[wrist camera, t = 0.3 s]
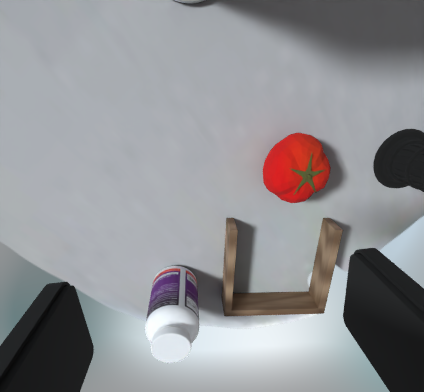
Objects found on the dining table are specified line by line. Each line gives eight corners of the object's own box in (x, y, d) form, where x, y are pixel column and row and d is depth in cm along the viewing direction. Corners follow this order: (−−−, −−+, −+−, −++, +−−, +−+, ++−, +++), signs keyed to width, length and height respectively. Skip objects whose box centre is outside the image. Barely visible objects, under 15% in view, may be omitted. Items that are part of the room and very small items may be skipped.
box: (226, 218, 47) (230, 230, 43) (329, 218, 49) (342, 230, 45) (221, 298, 53) (224, 316, 49) (313, 296, 55) (323, 313, 51)
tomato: (255, 192, 46) (269, 212, 38) (260, 129, 42) (276, 138, 35) (310, 191, 47) (334, 211, 39) (318, 129, 43) (347, 137, 35)
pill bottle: (148, 292, 52) (133, 363, 38) (161, 257, 49) (150, 320, 36) (189, 303, 53) (188, 374, 40) (203, 269, 51) (208, 334, 37)
